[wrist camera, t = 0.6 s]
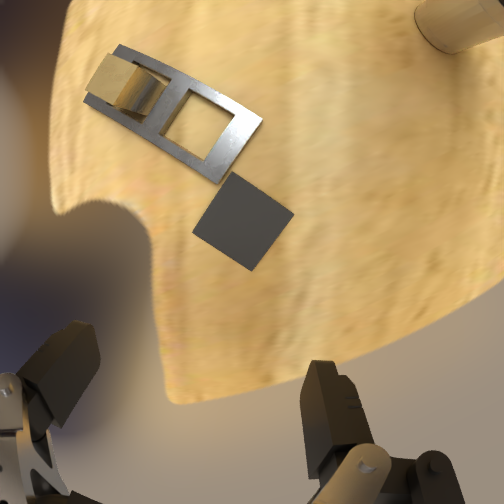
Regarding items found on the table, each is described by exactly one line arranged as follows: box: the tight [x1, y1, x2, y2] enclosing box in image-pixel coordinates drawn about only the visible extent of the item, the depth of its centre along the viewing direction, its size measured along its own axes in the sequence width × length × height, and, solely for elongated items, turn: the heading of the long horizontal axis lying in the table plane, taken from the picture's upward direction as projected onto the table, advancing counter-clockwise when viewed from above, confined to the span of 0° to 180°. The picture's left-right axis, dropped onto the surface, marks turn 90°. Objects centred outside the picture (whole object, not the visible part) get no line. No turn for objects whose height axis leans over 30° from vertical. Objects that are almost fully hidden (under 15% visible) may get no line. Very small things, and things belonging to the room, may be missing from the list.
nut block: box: [85, 53, 166, 116], centre depth 25 cm, size 4×4×9 cm
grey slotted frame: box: [83, 44, 263, 184], centre depth 29 cm, size 9×22×2 cm, turn 55°
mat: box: [192, 172, 294, 271], centre depth 34 cm, size 9×9×1 cm
